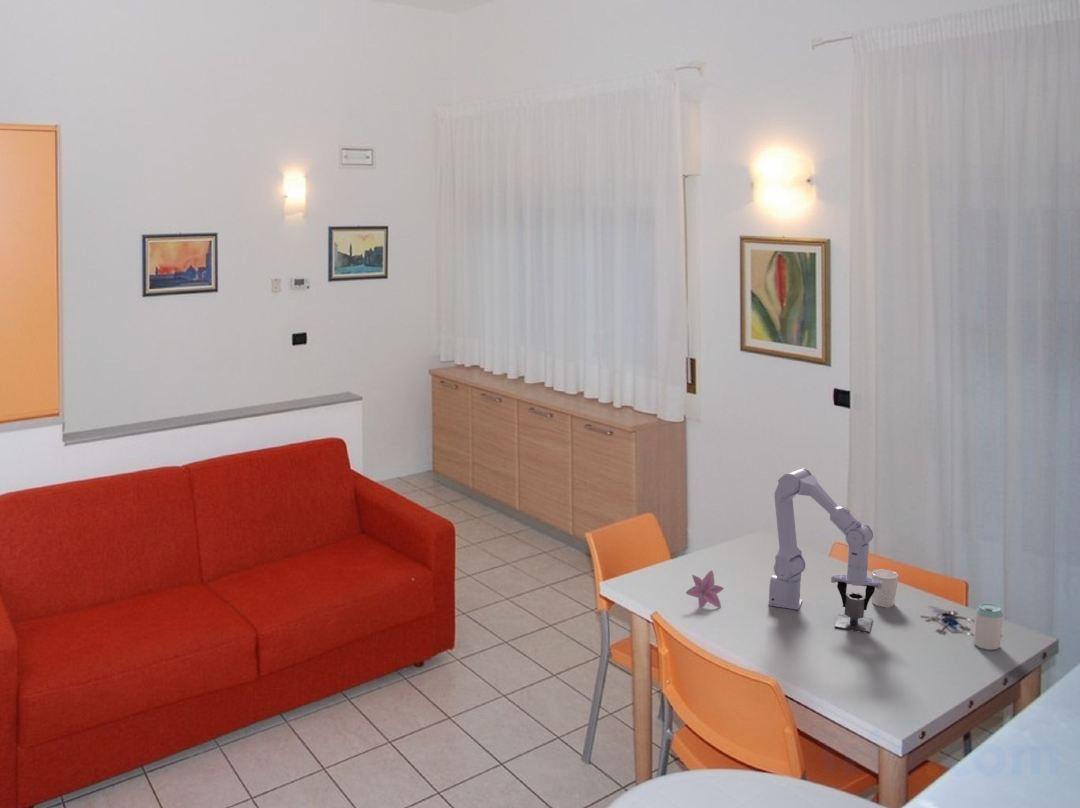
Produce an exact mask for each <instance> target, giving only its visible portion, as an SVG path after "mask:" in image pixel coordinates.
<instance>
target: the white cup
mask: <svg viewBox="0 0 1080 808" xmlns="http://www.w3.org/2000/svg"><path fill="white" fill-rule="evenodd" d="M871 579H874V580H879V581H882V589H878V588H875V591H874V593H873V595H872V596H871V603H872V604H873V605H874V604H875V605H874V606H877V607H880V606H881V607H880V608H892V607H893V606H894V605H895V601H896V599H895V598H896V594H897V587H898V579H899V574H898V573H897V572H896V571H893V570H891V569H882V568H881V569H879V568H878V569H874V570H872V572H871Z"/></svg>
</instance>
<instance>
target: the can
mask: <svg viewBox="0 0 1080 808" xmlns="http://www.w3.org/2000/svg"><path fill="white" fill-rule="evenodd" d="M978 606H979V607H978V608H977V609H976V610H975V622H974V629H973V630H974V631H973V641H972V642H973V644H974V645H975V646H976V647H977V646H978V647H977V648H979V649H981V650H985V651H995V650H998V649H999V648H1000V647H1001V641H1002V640H1001V639H1002V638H1001V637H1002V631H1003V630H1002V629H1003V628H1002V627H1003V619H1004V614H1003V612H1002V608H1001V607H999V606H998V605H997V604H992V603H981V604H980V605H978ZM994 649H995V650H994Z"/></svg>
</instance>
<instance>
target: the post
mask: <svg viewBox="0 0 1080 808" xmlns="http://www.w3.org/2000/svg"><path fill="white" fill-rule="evenodd" d="M844 614H845V613H838V614H837V617H836V621H835V625H834V628H835V629H837V630H844V629H845V630H844V631H850V630H853V632H857V631H860V632H859V633H863V632H866V633H865V634H870V632H871V627H872V623H873V618H870V617H864V616H863V618H859V619H855V618H850V617H848V616H846V615H844Z"/></svg>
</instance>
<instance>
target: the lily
mask: <svg viewBox="0 0 1080 808" xmlns="http://www.w3.org/2000/svg"><path fill="white" fill-rule="evenodd" d="M691 577H692V579H693V580H692V581H693V583H694V586H692V587H691V588H689V589H688V590H687V591H686V592H685V594H686V595H687V596H691V597H693V598H694V597H695V598H697V599H698V606H699V607H698V608H699V609H700V610H702V609H703V608H704V607H705V606H706V604H707V603H709V604H711V605H713V606H715V607H716V608H719V609H720V608H722V604H721V600H720V598H719V596H718V594H719V593H721V592H722V591H723V590H724V589H725V588H724V587H722V586H720V585H718V584H717V585H716V584H715V574H714V572H713V570H709V571H708V573H706V575H705V576H704V577H703V578H701V577H699V576H697V575H695V574H692V576H691Z"/></svg>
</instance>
